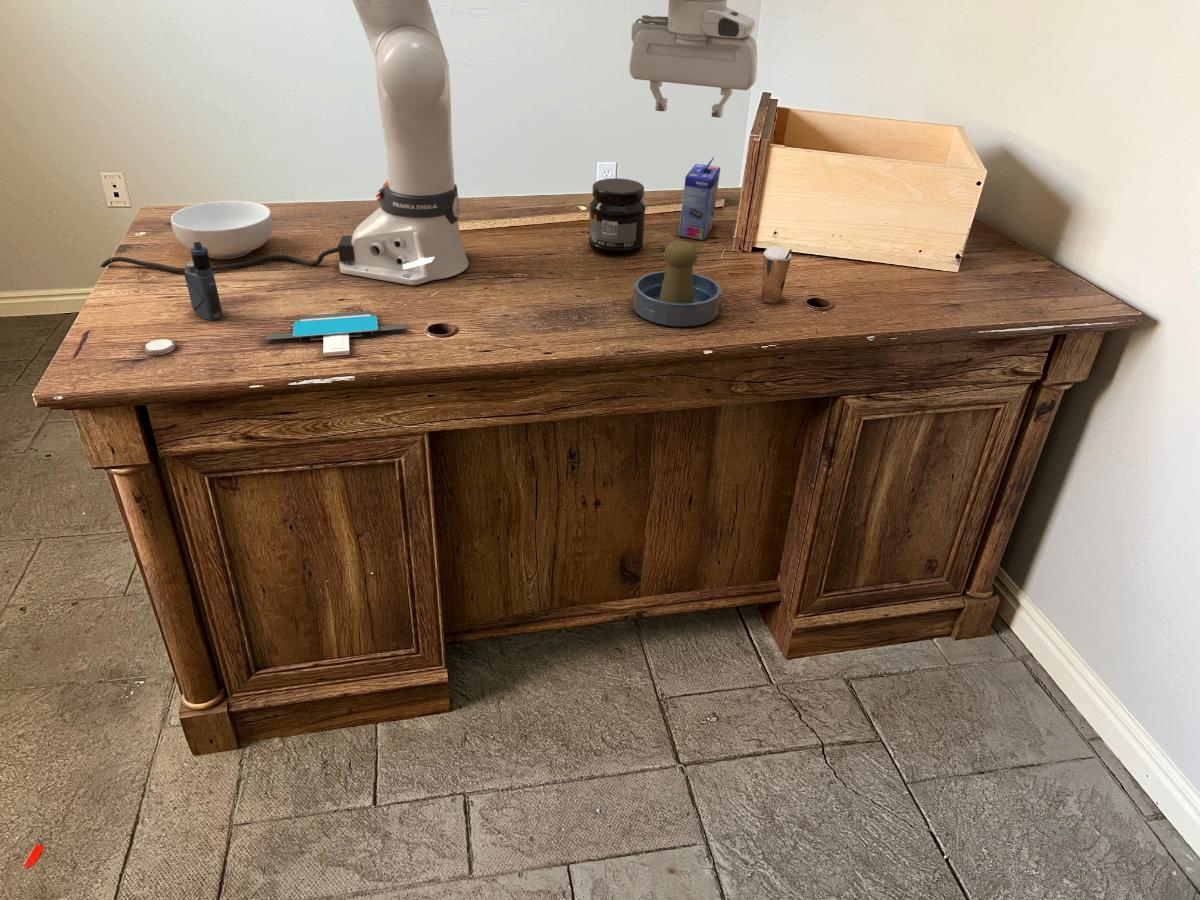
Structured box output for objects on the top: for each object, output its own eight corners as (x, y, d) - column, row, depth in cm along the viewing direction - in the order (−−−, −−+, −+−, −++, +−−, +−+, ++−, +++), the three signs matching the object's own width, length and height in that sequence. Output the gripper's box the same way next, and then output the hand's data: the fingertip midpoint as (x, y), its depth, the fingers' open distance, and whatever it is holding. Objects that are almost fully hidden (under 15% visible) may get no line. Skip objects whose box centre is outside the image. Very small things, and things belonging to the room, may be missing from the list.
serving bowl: (629, 324, 136) (630, 300, 134) (637, 289, 148) (638, 267, 145) (717, 331, 135) (720, 308, 133) (719, 296, 146) (721, 274, 144)
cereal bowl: (274, 266, 151) (267, 227, 147) (172, 272, 147) (162, 232, 144) (280, 233, 165) (273, 196, 161) (187, 238, 161) (178, 200, 157)
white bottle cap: (141, 355, 122) (140, 351, 121) (148, 343, 125) (147, 339, 125) (171, 354, 122) (170, 350, 122) (178, 341, 126) (176, 337, 125)
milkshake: (770, 309, 143) (779, 251, 137) (751, 296, 147) (759, 240, 141) (792, 304, 144) (802, 247, 139) (773, 292, 148) (782, 236, 143)
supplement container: (630, 236, 170) (634, 175, 163) (651, 255, 161) (656, 191, 155) (580, 241, 166) (581, 179, 160) (599, 261, 158) (601, 196, 152)
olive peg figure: (692, 317, 138) (698, 252, 132) (655, 313, 139) (659, 248, 133) (696, 302, 143) (702, 239, 137) (660, 298, 144) (665, 235, 138)
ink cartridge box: (705, 241, 169) (713, 166, 161) (677, 237, 170) (684, 163, 162) (714, 225, 177) (722, 153, 169) (688, 222, 178) (695, 150, 170)
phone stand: (263, 362, 122) (261, 351, 121) (268, 326, 131) (266, 316, 130) (407, 350, 126) (406, 339, 125) (401, 316, 136) (400, 306, 135)
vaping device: (212, 322, 132) (195, 247, 125) (190, 314, 134) (172, 239, 127) (227, 316, 133) (210, 242, 127) (205, 308, 136) (187, 235, 129)
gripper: (625, 16, 132) (622, 110, 140) (756, 26, 126) (745, 124, 134) (638, 12, 137) (634, 103, 145) (765, 21, 131) (753, 116, 139)
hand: (688, 113), depth 139 cm, fingers open, 8 cm apart
